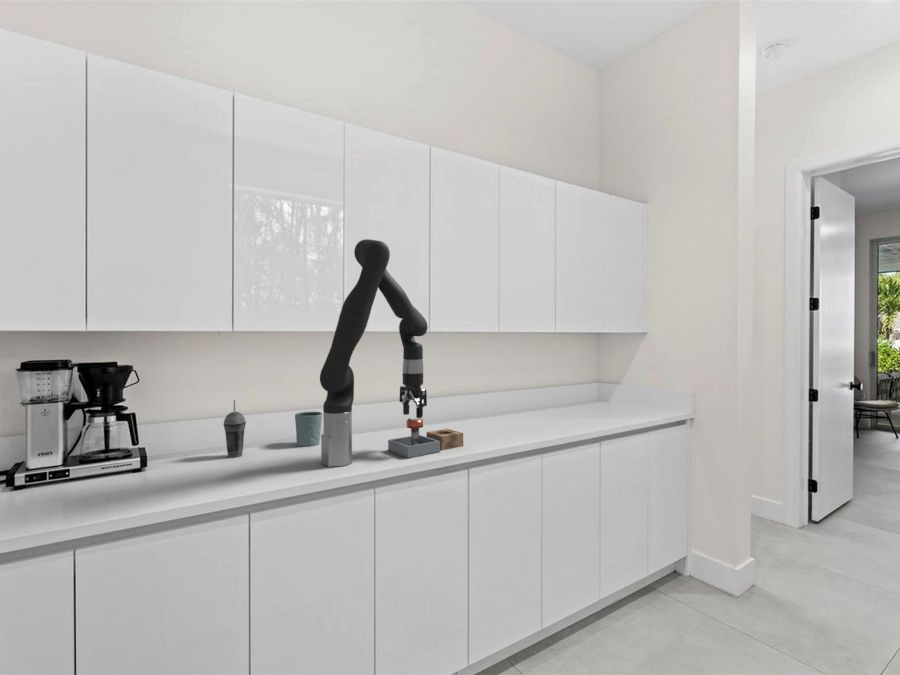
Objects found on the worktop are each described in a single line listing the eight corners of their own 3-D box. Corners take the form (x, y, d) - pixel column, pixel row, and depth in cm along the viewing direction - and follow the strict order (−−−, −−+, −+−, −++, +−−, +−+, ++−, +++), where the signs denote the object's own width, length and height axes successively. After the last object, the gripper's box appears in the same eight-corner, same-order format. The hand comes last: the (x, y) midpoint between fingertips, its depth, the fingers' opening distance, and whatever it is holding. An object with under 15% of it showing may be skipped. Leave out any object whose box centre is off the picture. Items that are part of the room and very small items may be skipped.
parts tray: (408, 458, 160) (407, 446, 160) (388, 450, 171) (388, 439, 171) (440, 452, 169) (439, 441, 169) (419, 445, 180) (419, 434, 179)
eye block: (442, 450, 171) (441, 436, 171) (426, 445, 179) (426, 432, 179) (463, 446, 178) (463, 432, 177) (447, 441, 185) (447, 428, 185)
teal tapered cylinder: (290, 444, 182) (290, 413, 182) (314, 439, 189) (313, 410, 189) (303, 448, 175) (302, 416, 175) (327, 444, 182) (327, 413, 182)
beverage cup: (246, 452, 170) (246, 397, 170) (245, 457, 163) (245, 400, 163) (224, 454, 167) (224, 398, 167) (222, 459, 160) (222, 401, 160)
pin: (426, 449, 170) (426, 417, 170) (412, 451, 167) (411, 419, 167) (418, 446, 175) (417, 416, 175) (404, 448, 171) (403, 417, 172)
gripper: (432, 372, 167) (432, 418, 167) (410, 369, 178) (410, 412, 178) (415, 373, 162) (415, 420, 163) (393, 370, 173) (393, 414, 174)
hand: (412, 416), depth 170 cm, fingers open, 8 cm apart
